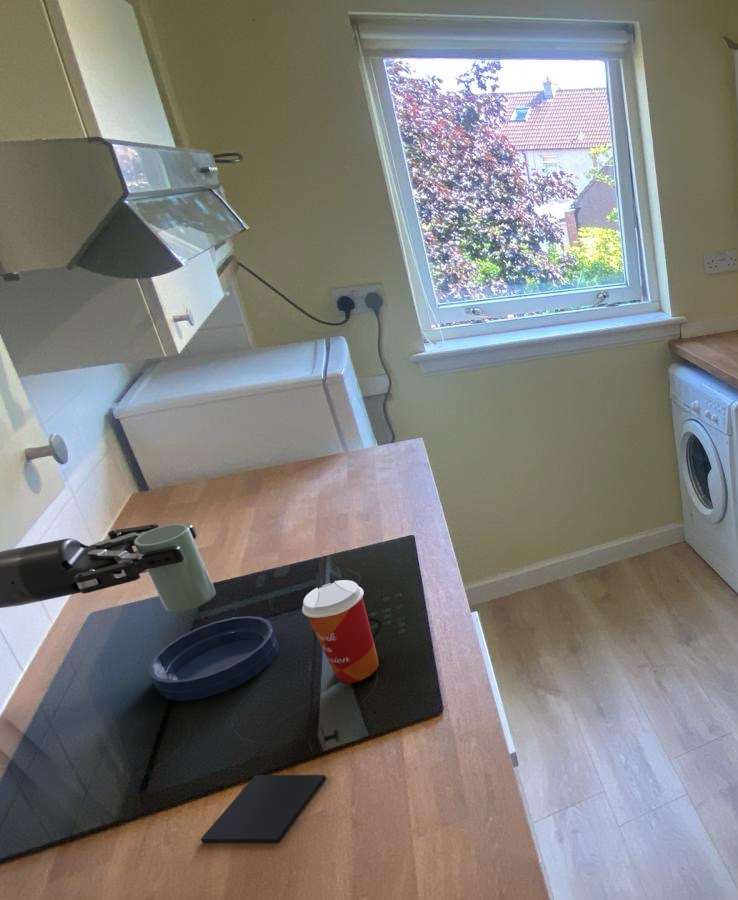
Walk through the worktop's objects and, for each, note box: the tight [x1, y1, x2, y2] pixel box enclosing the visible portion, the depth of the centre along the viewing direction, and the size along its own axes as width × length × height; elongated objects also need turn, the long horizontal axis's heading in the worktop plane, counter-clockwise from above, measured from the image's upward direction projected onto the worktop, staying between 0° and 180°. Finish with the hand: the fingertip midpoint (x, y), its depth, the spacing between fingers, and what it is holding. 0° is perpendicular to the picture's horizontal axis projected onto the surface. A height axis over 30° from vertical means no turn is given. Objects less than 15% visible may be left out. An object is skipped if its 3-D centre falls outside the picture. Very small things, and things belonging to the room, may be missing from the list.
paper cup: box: [301, 579, 379, 684], centre depth 107 cm, size 8×8×14 cm
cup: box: [134, 523, 217, 613], centre depth 104 cm, size 6×6×11 cm
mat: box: [200, 774, 327, 844], centre depth 88 cm, size 9×9×1 cm
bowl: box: [148, 615, 280, 702], centre depth 111 cm, size 15×15×4 cm
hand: (187, 542), depth 103 cm, fingers closed on cup, 6 cm apart
